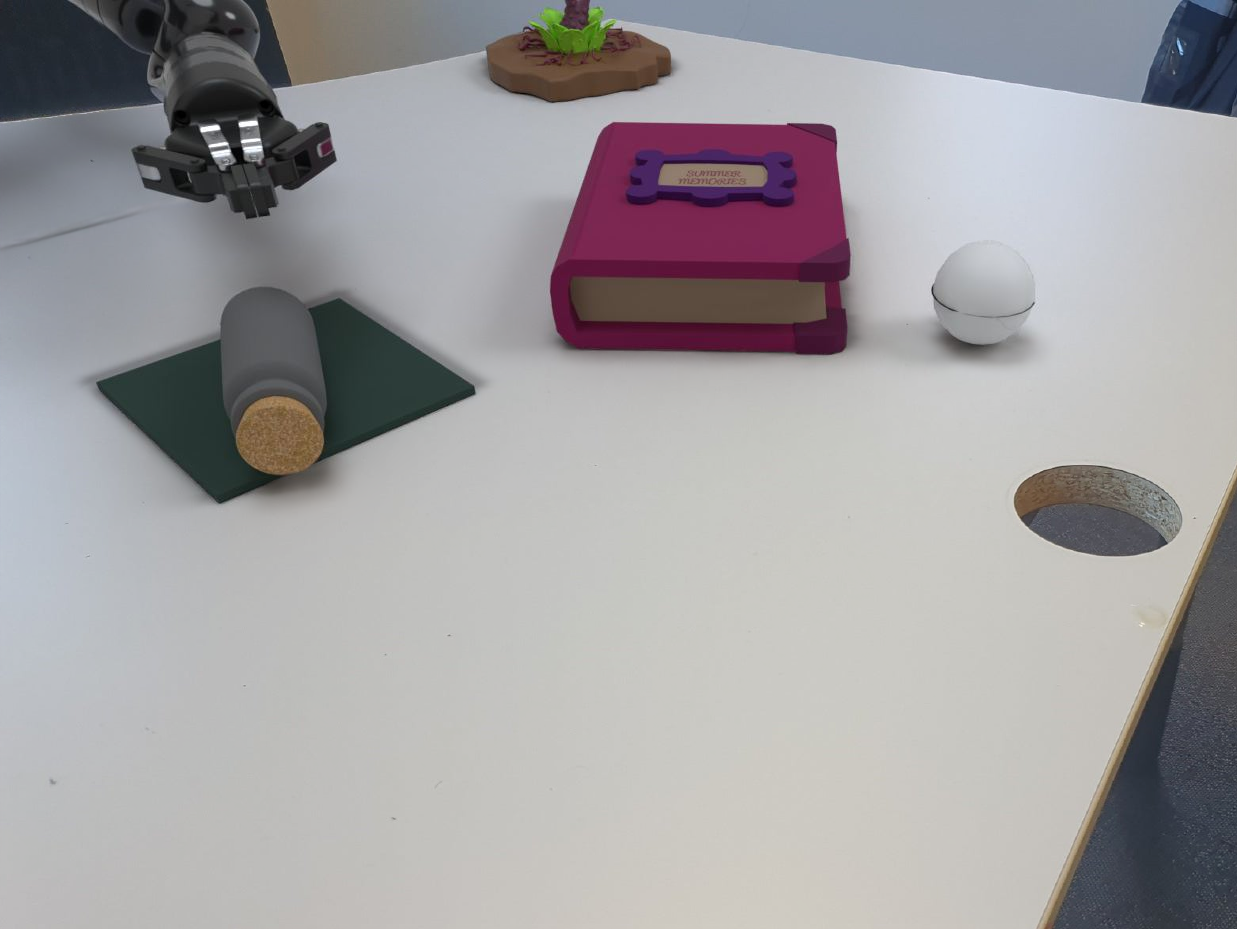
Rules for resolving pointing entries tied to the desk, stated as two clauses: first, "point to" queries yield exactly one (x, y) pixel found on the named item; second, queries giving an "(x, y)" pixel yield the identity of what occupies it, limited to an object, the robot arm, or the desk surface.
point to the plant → (575, 56)
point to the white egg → (983, 292)
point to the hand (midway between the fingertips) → (253, 202)
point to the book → (706, 241)
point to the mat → (354, 381)
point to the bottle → (273, 380)
